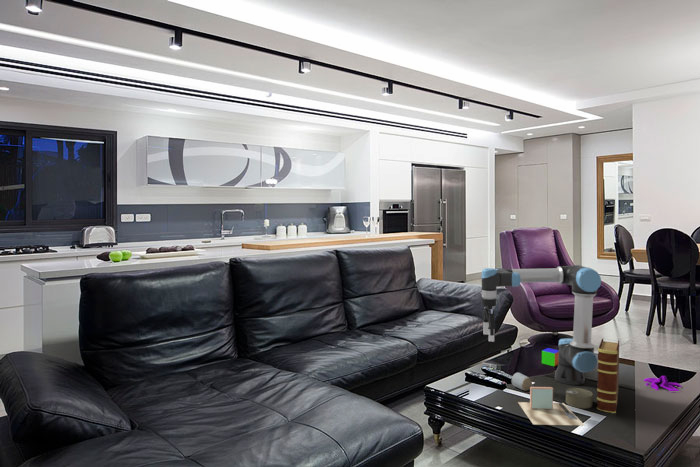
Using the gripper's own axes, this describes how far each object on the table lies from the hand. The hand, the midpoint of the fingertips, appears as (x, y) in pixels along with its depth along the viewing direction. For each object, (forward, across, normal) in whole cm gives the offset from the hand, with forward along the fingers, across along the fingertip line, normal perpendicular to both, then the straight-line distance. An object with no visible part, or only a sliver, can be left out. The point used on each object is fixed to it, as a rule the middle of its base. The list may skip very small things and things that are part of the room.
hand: (488, 337), depth 254 cm
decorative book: (+28, +19, +53) cm, 63 cm away
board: (+27, +32, +21) cm, 47 cm away
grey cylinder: (+28, -2, +19) cm, 33 cm away
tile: (+26, +27, +19) cm, 42 cm away
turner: (+26, +30, +29) cm, 50 cm away
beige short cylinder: (+28, +20, +39) cm, 52 cm away
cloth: (+28, -9, +93) cm, 97 cm away
